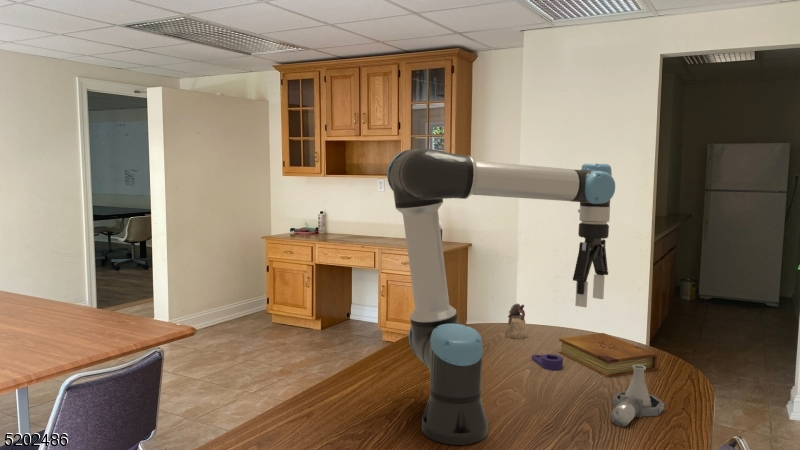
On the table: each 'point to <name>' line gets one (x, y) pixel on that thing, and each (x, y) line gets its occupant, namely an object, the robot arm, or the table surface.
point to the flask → (639, 386)
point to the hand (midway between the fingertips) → (589, 302)
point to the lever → (549, 361)
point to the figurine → (516, 323)
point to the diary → (607, 354)
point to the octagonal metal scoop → (633, 408)
